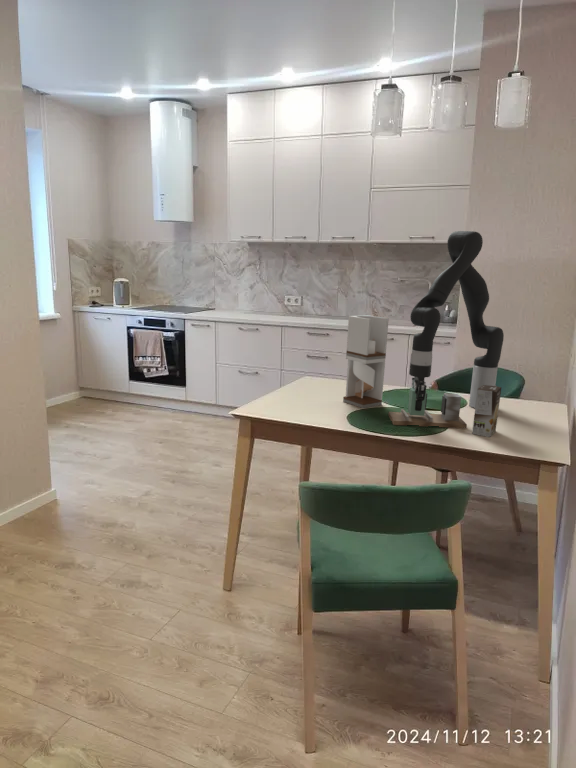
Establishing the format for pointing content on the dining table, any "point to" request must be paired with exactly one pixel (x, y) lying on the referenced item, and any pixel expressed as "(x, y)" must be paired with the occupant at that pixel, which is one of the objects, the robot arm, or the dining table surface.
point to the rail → (434, 415)
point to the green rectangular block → (413, 400)
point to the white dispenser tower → (366, 360)
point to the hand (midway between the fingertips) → (416, 408)
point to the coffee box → (486, 410)
